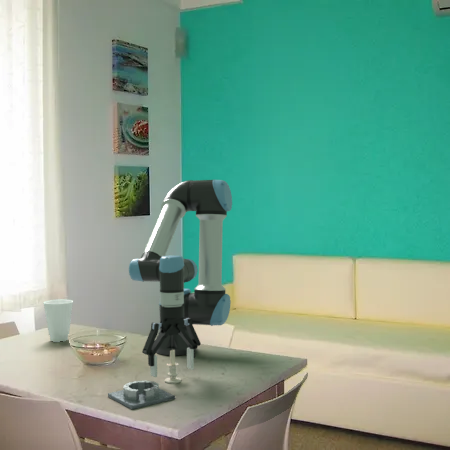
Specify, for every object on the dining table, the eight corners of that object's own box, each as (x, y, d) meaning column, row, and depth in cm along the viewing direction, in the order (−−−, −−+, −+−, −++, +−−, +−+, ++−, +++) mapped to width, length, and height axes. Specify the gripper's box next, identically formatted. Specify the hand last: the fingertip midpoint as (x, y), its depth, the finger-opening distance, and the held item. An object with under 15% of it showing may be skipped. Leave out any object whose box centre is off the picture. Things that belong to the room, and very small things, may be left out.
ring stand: (108, 396, 174) (107, 384, 174) (149, 387, 183) (149, 375, 183) (131, 409, 163) (131, 396, 163) (175, 398, 172) (174, 386, 172)
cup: (38, 343, 242) (38, 303, 242) (52, 336, 254) (51, 299, 254) (66, 343, 241) (65, 304, 240) (78, 337, 252) (77, 299, 252)
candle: (161, 382, 187) (161, 349, 187) (168, 378, 192) (168, 345, 192) (176, 384, 186) (176, 351, 185) (183, 379, 191) (183, 347, 190)
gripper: (143, 311, 177) (144, 382, 178) (211, 302, 193) (211, 368, 193) (130, 307, 183) (131, 376, 184) (197, 299, 199) (197, 363, 199)
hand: (172, 372), depth 189 cm, fingers open, 13 cm apart
